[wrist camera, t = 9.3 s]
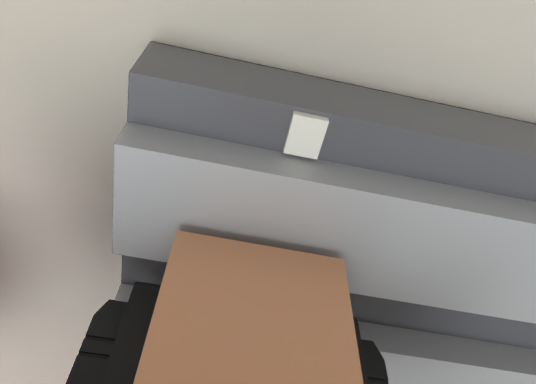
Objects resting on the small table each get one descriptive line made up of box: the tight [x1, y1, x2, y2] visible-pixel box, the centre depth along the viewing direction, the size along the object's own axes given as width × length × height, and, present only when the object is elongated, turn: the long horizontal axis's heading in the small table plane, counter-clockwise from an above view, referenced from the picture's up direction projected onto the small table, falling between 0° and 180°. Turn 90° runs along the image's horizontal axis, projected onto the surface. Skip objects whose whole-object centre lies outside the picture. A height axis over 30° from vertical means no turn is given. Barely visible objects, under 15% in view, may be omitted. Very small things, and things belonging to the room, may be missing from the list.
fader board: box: [112, 42, 536, 384], centre depth 14 cm, size 20×11×3 cm, turn 78°
